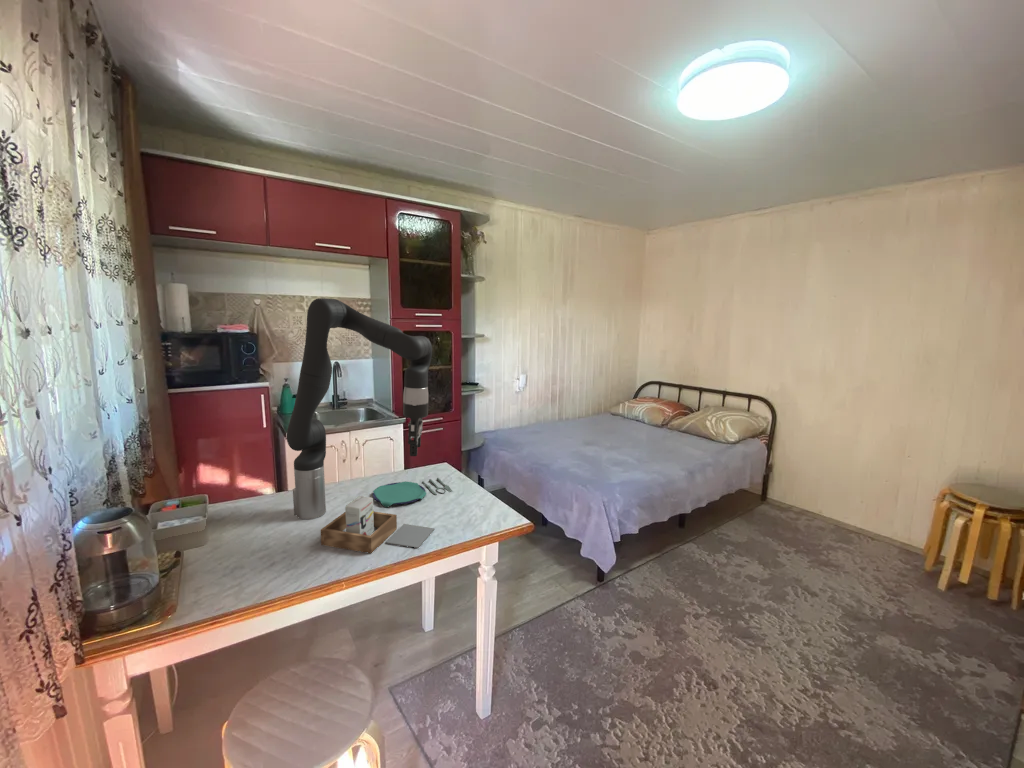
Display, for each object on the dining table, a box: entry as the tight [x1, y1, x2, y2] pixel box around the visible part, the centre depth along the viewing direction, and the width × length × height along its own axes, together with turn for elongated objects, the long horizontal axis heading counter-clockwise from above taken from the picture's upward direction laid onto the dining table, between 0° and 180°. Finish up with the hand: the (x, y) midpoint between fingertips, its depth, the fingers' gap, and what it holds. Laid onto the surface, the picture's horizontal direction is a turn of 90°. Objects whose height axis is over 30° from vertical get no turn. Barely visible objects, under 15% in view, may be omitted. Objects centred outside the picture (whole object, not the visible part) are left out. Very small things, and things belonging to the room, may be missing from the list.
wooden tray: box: [320, 510, 398, 554], centre depth 132 cm, size 17×15×5 cm
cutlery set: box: [372, 477, 454, 508], centre depth 165 cm, size 20×30×2 cm, turn 123°
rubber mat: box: [384, 523, 436, 549], centre depth 133 cm, size 11×12×1 cm
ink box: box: [344, 495, 375, 536], centre depth 131 cm, size 9×5×12 cm, turn 168°
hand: (415, 451), depth 132 cm, fingers open, 8 cm apart
